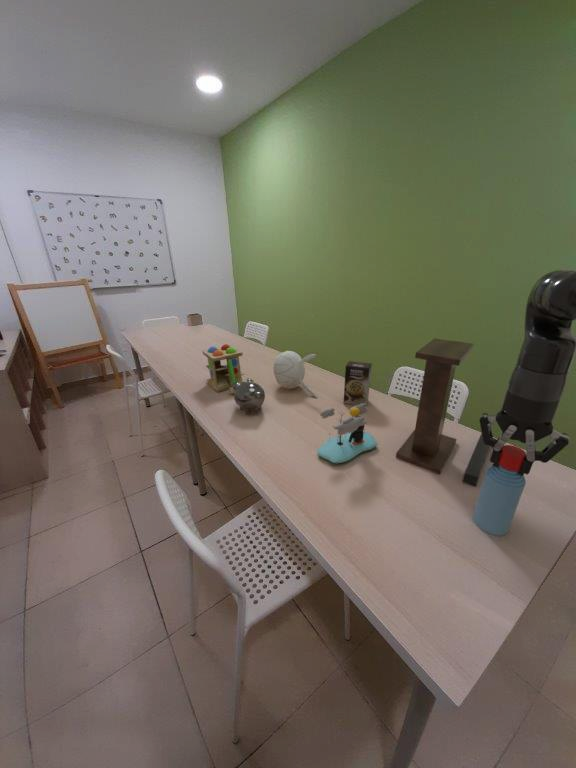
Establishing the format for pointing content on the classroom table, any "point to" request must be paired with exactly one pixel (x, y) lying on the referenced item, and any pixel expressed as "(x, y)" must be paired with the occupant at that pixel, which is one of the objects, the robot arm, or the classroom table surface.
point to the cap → (511, 457)
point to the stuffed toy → (291, 370)
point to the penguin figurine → (347, 437)
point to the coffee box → (357, 383)
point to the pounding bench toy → (223, 367)
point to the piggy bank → (248, 396)
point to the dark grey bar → (476, 462)
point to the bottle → (498, 499)
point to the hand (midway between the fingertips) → (508, 468)
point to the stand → (434, 405)
